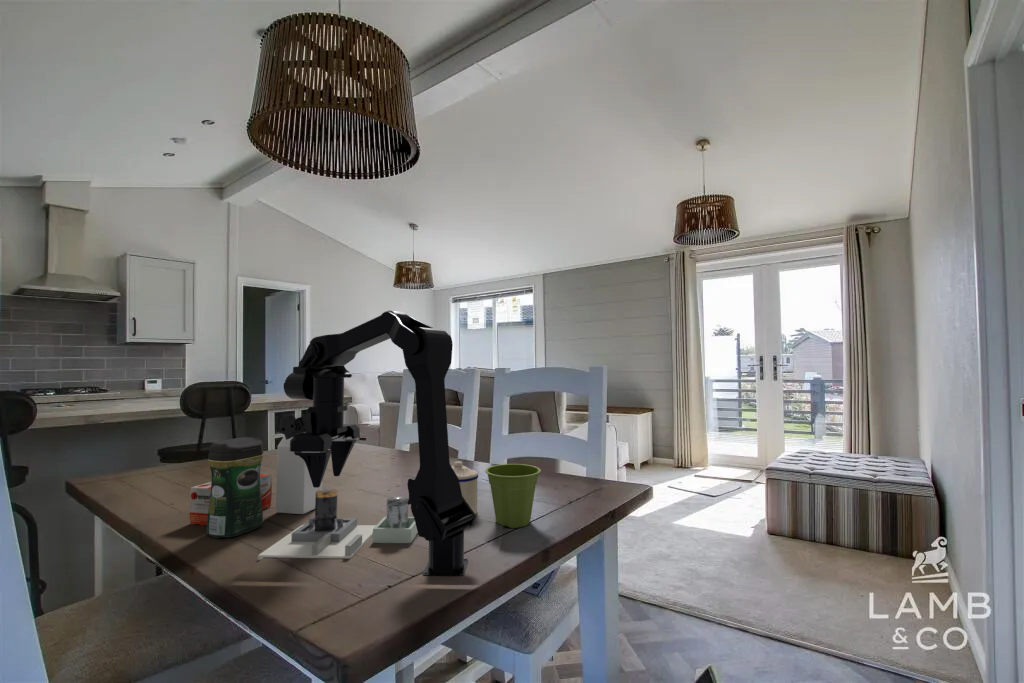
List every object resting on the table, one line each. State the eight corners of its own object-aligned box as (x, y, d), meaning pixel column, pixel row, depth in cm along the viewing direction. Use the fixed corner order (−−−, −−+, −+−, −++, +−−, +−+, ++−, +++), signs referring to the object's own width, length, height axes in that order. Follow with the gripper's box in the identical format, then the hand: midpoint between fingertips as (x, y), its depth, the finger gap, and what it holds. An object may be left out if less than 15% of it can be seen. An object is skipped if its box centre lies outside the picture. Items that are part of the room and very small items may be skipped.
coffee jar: (243, 521, 103) (245, 434, 104) (269, 526, 100) (271, 436, 101) (197, 536, 94) (200, 440, 95) (224, 542, 91) (227, 443, 92)
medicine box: (243, 505, 116) (244, 471, 116) (272, 507, 114) (272, 473, 114) (187, 525, 101) (188, 487, 101) (219, 528, 99) (220, 489, 100)
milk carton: (303, 515, 107) (305, 429, 108) (275, 513, 109) (277, 428, 110) (322, 506, 114) (323, 425, 115) (295, 504, 116) (297, 424, 117)
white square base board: (350, 561, 82) (350, 545, 82) (258, 559, 82) (258, 543, 83) (379, 529, 98) (379, 516, 98) (302, 528, 98) (302, 515, 99)
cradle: (335, 537, 90) (335, 523, 90) (301, 537, 90) (302, 523, 90) (348, 526, 96) (348, 513, 96) (316, 526, 97) (317, 513, 97)
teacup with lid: (484, 510, 111) (484, 459, 112) (469, 522, 102) (469, 467, 103) (436, 506, 114) (436, 456, 115) (418, 517, 106) (418, 463, 106)
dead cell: (404, 539, 91) (405, 501, 91) (383, 539, 91) (384, 500, 91) (410, 532, 95) (410, 495, 95) (389, 532, 95) (390, 495, 95)
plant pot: (473, 523, 102) (473, 469, 102) (513, 511, 110) (512, 461, 111) (513, 537, 93) (513, 478, 94) (552, 523, 102) (552, 469, 102)
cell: (331, 531, 91) (332, 492, 92) (311, 531, 91) (311, 492, 92) (340, 524, 95) (340, 487, 96) (320, 524, 95) (321, 487, 96)
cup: (411, 545, 89) (411, 529, 89) (372, 545, 89) (372, 528, 89) (420, 532, 96) (420, 517, 96) (384, 531, 96) (384, 516, 96)
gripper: (310, 398, 104) (308, 471, 103) (261, 404, 86) (259, 493, 85) (360, 398, 104) (359, 471, 103) (323, 404, 85) (321, 494, 84)
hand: (327, 481), depth 94 cm, fingers open, 9 cm apart
